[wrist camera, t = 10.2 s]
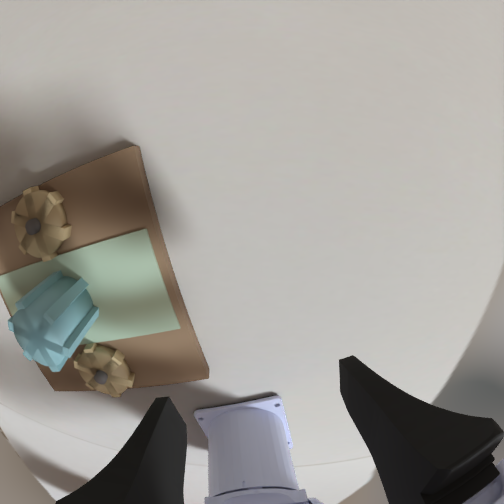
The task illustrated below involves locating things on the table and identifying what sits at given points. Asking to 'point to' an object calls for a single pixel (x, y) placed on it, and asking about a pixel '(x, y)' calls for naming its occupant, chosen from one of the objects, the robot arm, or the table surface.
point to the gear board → (104, 275)
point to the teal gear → (53, 319)
